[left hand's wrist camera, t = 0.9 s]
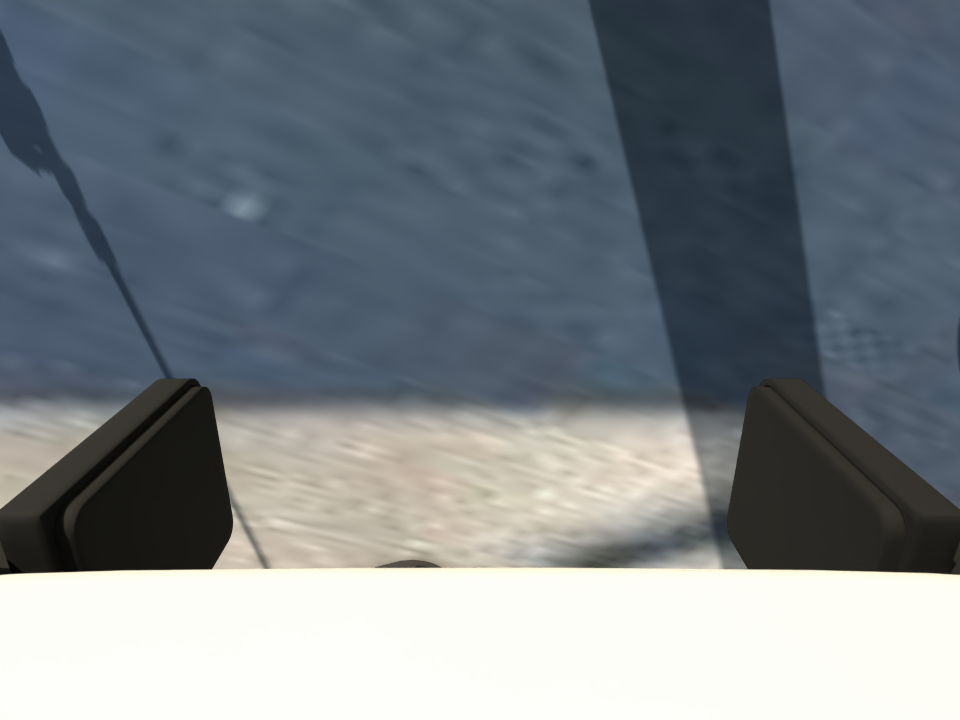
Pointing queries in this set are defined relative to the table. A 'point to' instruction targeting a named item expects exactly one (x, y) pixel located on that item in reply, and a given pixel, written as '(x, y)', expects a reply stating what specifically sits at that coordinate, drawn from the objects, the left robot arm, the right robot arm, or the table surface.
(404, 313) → the table surface
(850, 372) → the table surface
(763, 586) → the left robot arm
